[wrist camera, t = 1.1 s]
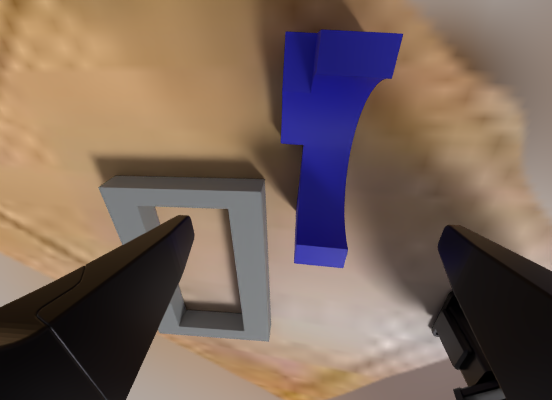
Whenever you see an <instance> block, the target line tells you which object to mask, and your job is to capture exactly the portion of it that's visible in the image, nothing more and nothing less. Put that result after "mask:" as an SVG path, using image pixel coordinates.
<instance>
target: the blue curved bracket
mask: <svg viewBox="0 0 552 400" xmlns="http://www.w3.org/2000/svg"><path fill="white" fill-rule="evenodd" d="M402 37H403V34H397V33H378V32H359V31H340V30H320V31H319V32H318V33H305V32H286V35H285V53H284V70H283V88H282V128H281V143H282V144H296V145H303V151H302V160H301V170H300V179H299V188H298V198H297V207H296V227H295V253H294V263H297V264H307V265H317V266H327V267H337V268H343V267H344V263H345V259H346V256H347V252H348V247H347V241H346V234H345V219H344V202H345V186H346V176H347V168H348V162H349V156H350V151H351V146H352V141H353V137H354V133H355V130H356V126H357V123H358V120H359V117H360V114H361V112H362V109H363V107H364V105H365V102H366V100H367V98H368V97H369V95H370V93H371V92H372V90H373V89H374V87H375V86H376V85H377V84H378V83H379V82H380V81H382V80H384V79H387V78H388V79H392V76H393V72H394V68H395V64H396V60H397V56H398V52H399V49H400V45H401V41H402Z"/></svg>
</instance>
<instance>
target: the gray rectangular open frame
mask: <svg viewBox="0 0 552 400" xmlns="http://www.w3.org/2000/svg"><path fill="white" fill-rule="evenodd" d="M98 188H99V190H100V192H101V195H102V197H103V199H104V202H105V204H106V207H107V209H108V211H109V214H110V216H111V218H112V221H113V223H114V226H115V228H116V230H117V233H118V235H119V237H120V240H121V242H122V245H124V244H125V243H127V242H129V241H131V240H133V239H135V238H137V237H138V236H140V235H142V234H144V233H146V232H148V231H150V230H152V229H153V228H155V227H157V226H159V225H160V222H159V219H158V216H157V213H156V209H155V206H157V207H187V208H217V209H228V211H229V219H230V226H231V234H232V241H233V249H234V256H235V264H236V271H237V279H238V286H239V294H240V301H241V309H242V314H240V313H226V312H211V311H196V310H186V307H185V304H184V301H183V297H182V294H181V291H180V288H179V284H178V286H177V288H176V290H175V293H174V295H173V297H172V299H171V301H170V304H169V306H168V308H167V310H166V312H165V315H164V317H163V319H162V321H161V323H160V326H159V328H158V330H159V333H163V334H176V335H190V336H203V337H216V338H229V339H242V340H255V341H268V342H269V338H270V329H271V312H270V289H269V266H268V243H267V220H266V197H265V179H239V178H196V177H154V176H114V177H113V178H111V179H110V180H108V181H107V182H105V183H104V184H103V185H101V186H100V187H98Z"/></svg>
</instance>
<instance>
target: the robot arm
mask: <svg viewBox="0 0 552 400" xmlns="http://www.w3.org/2000/svg"><path fill="white" fill-rule="evenodd" d="M193 241H194V230H193V226H192V221H191V218H190V217H189V216H187V215H178V216H176V217H174V218H172V219H170V220H168V221H166V222H165V223H163V224H161V225H159V226H157V227H155V228H153V229H152V230H150V231H148V232H146V233H144V234H142V235H140V236H138V237H137V238H135V239H133V240H131V241H129V242H127V243H125V244H124V245H122V246H120V247H118V248H116V249H114V250H112V251H110V252H109V253H107V254H105V255H103V256H101V257H99V258H97V259H95V260H94V261H92V262H90V263H88V264H86V266H82V267H80V268H79V269H77V270H75V271H73V272H71V273H69V274H67V275H65V276H63V277H61V278H60V279H58V280H56V281H54V282H52V283H50V284H48V285H46V286H44V287H42V288H39V289H37V290H35V291H33V292H31V293H29V294H27V295H25V296H23V297H21V298H19V299H16V300H14V301H12V302H10V303H8V304H6V305H4V306H2V307H0V400H126V398H127V396H128V394H129V392H130V389H131V387H132V385H133V383H134V381H135V378H136V376H137V374H138V371H139V370H140V367H141V365H142V363H143V361H144V358H145V356H146V354H147V352H148V350H149V348H150V345H151V343H152V341H153V339H154V337H155V334H156V332H157V330H158V328H159V326H160V323H161V321H162V319H163V317H164V315H165V312H166V310H167V308H168V306H169V304H170V301H171V299H172V297H173V295H174V293H175V290H176V288H177V286H178V284H179V282H180V279H181V277H182V274H183V272H184V269H185V266H186V263H187V259H188V256H189V253H190V250H191V247H192V244H193ZM438 251H439V254H440V257H441V260H442V262H443V265H444V268H445V271H446V274H447V276H448V279H449V282H450V285H451V287H452V289H453V291H452V292H451V293H450V294H449V295H448V297H447V300H446V302H445V304H444V306H443V308H442V310H441V312H440V314H439V316H438V318H437V320H436V322H435V324H434V326H433V328H432V333H433V335H434V336H436V337H440V340H441V342H442V344H443V346H444V348H445V350H446V352H447V354H448V356H449V358H450V361H451V363H452V365H453V366H454V367H455V369H457V370H460V371H461V373H462V374H463V377H464V379H465V381H466V383H467V385H468V387H465V388H456V389H453V391H454V394H455V397H456V400H552V271H550V270H548V269H546V268H544V267H542V266H540V265H538V264H536V263H534V262H532V261H530V260H528V259H526V258H524V257H522V256H520V255H518V254H516V253H514V252H513V251H511V250H509V249H507V248H505V247H503V246H501V245H499V244H497V243H495V242H493V241H491V240H489V239H487V238H485V237H483V236H481V235H479V234H477V233H475V232H473V231H471V230H469V229H467V228H465V227H463V226H460V225H447V226H445V228H444V230H443V232H442V235H441V237H440V240H439V242H438Z"/></svg>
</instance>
